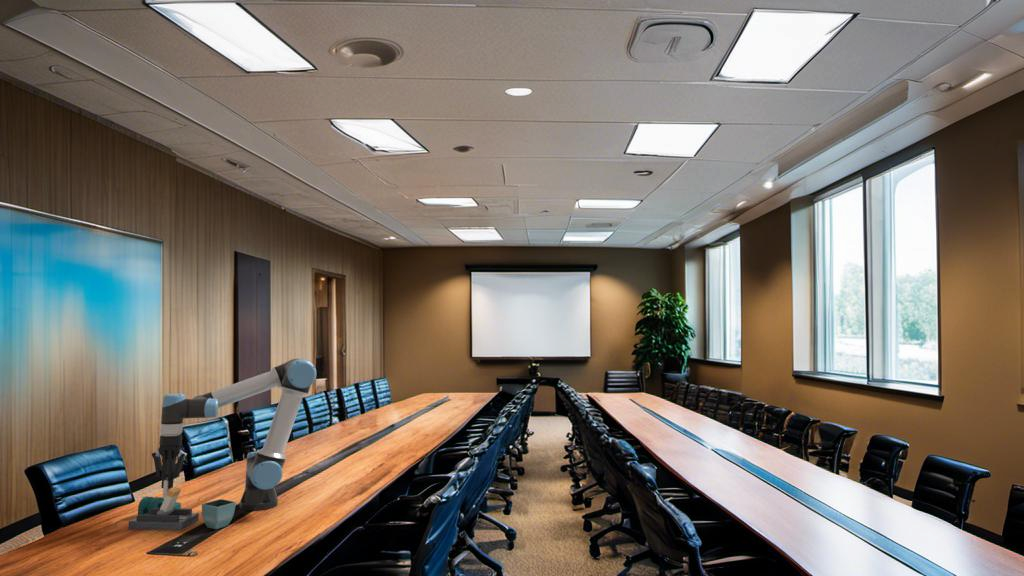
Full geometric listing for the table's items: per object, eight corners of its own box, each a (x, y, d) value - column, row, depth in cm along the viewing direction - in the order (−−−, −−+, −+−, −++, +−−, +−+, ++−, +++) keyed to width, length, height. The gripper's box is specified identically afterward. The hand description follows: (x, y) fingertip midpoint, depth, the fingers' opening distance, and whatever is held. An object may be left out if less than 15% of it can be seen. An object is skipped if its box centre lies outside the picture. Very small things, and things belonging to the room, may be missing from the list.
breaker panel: (198, 521, 237) (198, 512, 237) (181, 530, 225) (182, 521, 225) (147, 520, 237) (148, 511, 237) (128, 529, 225) (128, 520, 225)
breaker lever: (171, 515, 234) (182, 489, 235) (162, 519, 228) (174, 493, 229) (164, 512, 234) (175, 486, 235) (155, 516, 228) (166, 490, 229)
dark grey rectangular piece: (191, 513, 236) (192, 508, 236) (176, 521, 225) (176, 516, 226) (153, 512, 236) (153, 508, 237) (136, 520, 226) (136, 515, 226)
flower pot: (235, 525, 232) (236, 501, 232) (215, 532, 224) (217, 507, 224) (219, 522, 235) (220, 498, 236) (199, 528, 227) (200, 504, 228)
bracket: (152, 520, 237) (154, 499, 238) (137, 519, 238) (138, 498, 239) (184, 508, 255) (185, 489, 256) (170, 507, 256) (171, 488, 257)
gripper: (192, 433, 237) (188, 495, 235) (160, 432, 238) (155, 494, 236) (182, 436, 230) (177, 500, 228) (148, 435, 230) (143, 499, 228)
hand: (166, 497), depth 232 cm, fingers closed
